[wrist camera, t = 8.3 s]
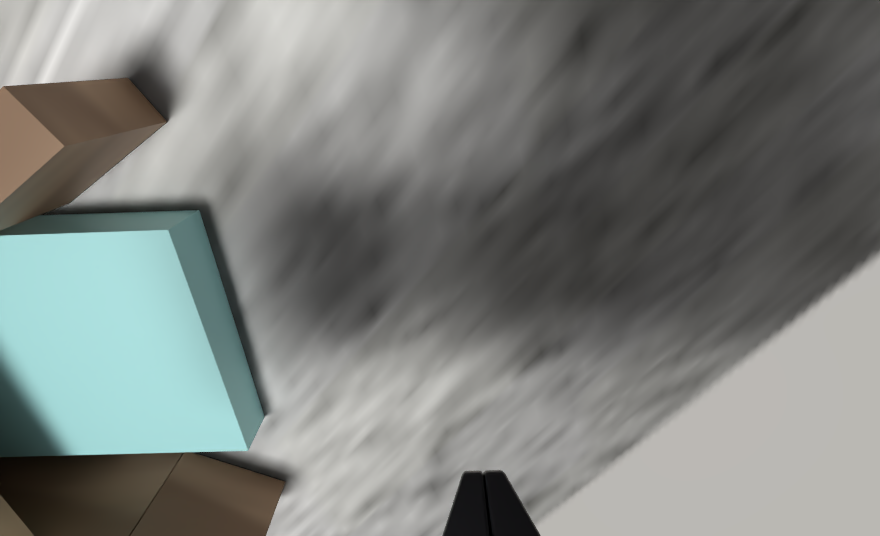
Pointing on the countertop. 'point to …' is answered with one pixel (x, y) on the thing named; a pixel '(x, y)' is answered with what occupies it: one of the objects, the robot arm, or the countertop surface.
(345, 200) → the countertop surface
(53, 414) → the panel
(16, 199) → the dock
